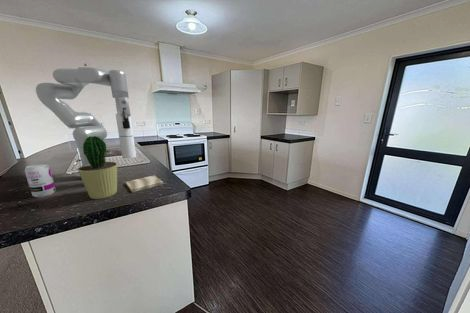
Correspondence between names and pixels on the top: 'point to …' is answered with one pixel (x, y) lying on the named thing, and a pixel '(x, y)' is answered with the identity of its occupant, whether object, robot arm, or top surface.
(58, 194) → the top surface
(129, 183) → the birch board
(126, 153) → the cylindrical container
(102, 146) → the potted cactus
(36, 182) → the supplement can
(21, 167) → the top surface
